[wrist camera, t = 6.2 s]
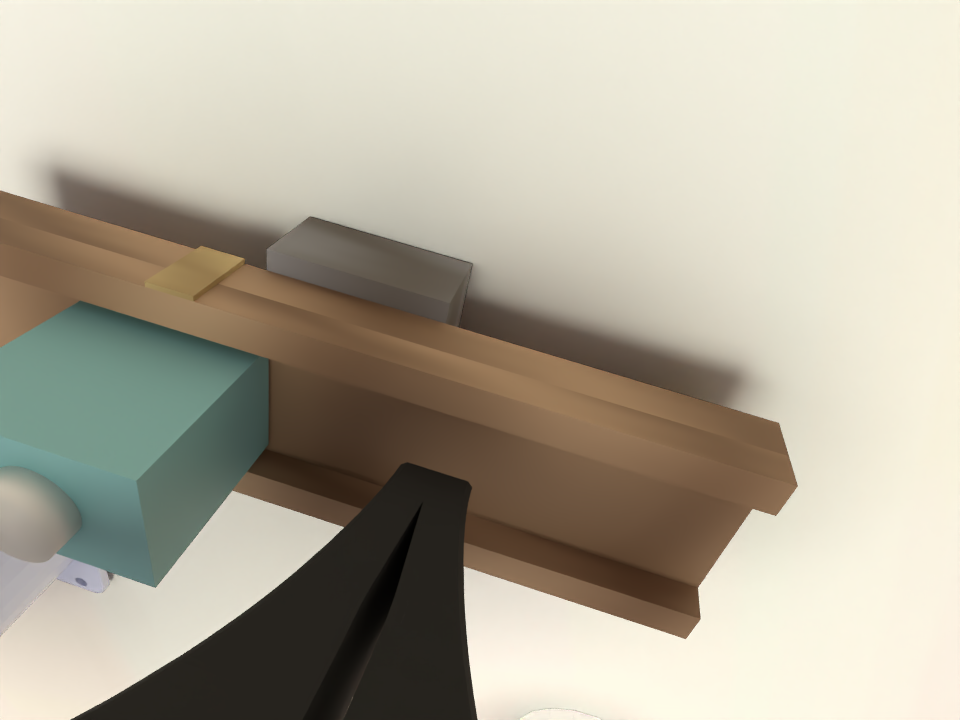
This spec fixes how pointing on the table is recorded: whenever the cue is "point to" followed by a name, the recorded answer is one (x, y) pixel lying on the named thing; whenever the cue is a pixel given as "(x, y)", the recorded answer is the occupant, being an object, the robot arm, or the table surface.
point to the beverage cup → (557, 715)
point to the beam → (430, 405)
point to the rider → (122, 439)
